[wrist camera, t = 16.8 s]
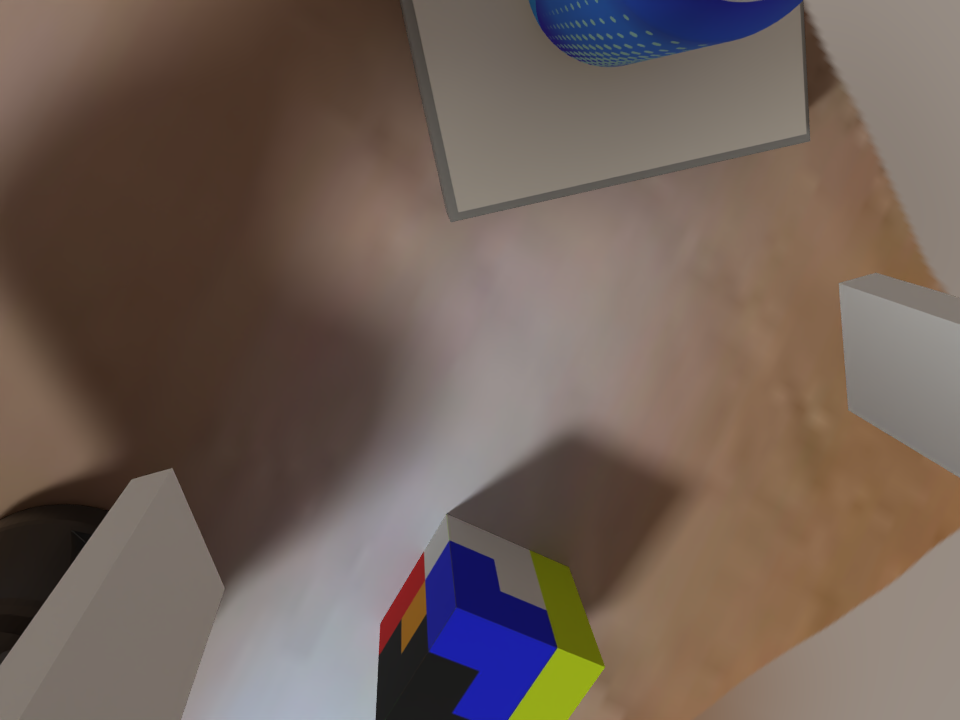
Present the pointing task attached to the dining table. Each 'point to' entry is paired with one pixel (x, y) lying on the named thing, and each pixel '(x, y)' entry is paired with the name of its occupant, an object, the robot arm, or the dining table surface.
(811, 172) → the dining table surface
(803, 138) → the plinth
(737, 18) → the beer can
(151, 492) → the robot arm
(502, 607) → the puzzle toy
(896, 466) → the dining table surface
